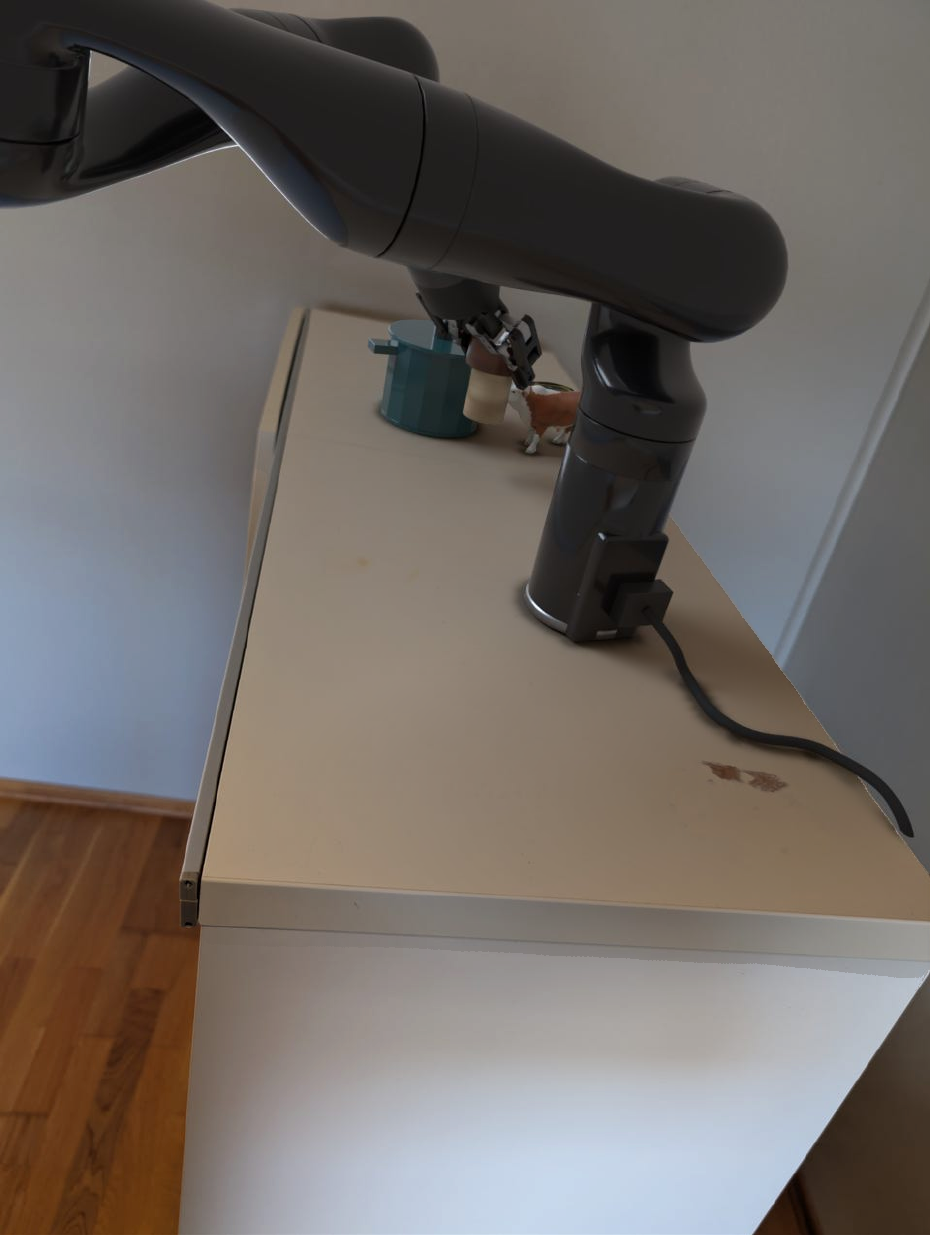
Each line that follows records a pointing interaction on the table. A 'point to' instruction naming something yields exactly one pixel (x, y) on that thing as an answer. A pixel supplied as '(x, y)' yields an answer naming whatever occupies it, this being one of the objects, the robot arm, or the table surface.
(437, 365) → the pot
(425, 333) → the pot lid
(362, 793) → the table surface
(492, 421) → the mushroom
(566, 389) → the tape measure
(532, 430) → the bull figurine
